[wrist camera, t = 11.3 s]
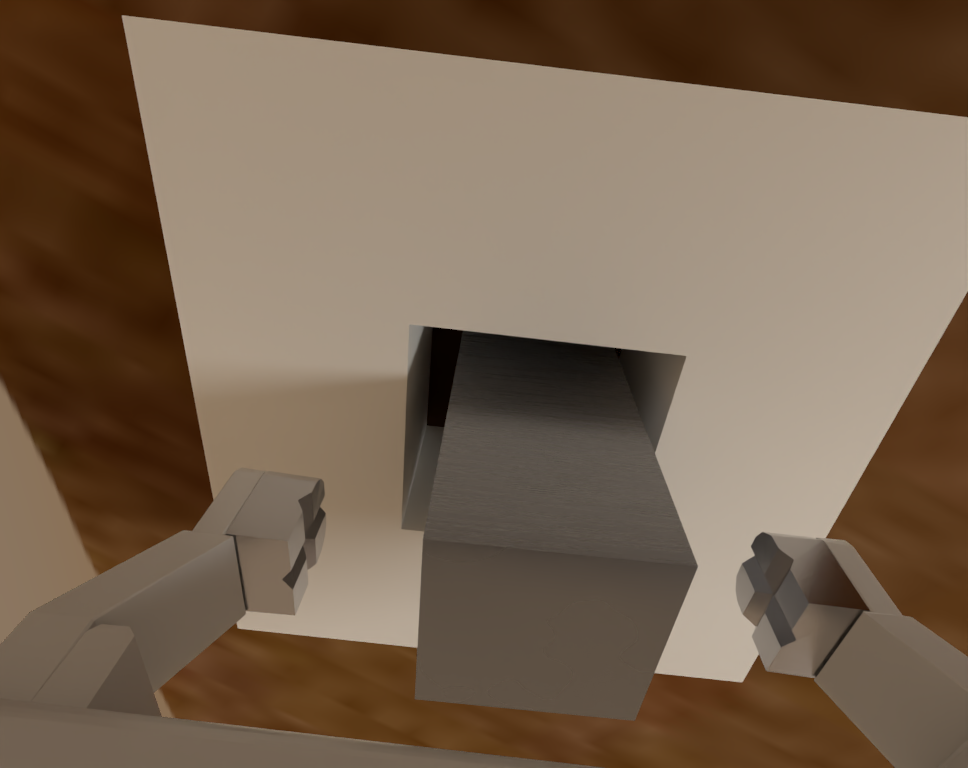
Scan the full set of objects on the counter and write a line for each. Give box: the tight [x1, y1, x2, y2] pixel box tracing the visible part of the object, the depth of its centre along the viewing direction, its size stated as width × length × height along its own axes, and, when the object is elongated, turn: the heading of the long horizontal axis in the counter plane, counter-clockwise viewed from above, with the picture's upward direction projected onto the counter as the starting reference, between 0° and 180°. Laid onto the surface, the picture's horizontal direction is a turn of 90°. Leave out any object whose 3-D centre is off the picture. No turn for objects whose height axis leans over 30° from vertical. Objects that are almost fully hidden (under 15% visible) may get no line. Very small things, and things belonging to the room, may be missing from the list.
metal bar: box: [415, 330, 698, 721], centre depth 13 cm, size 4×4×10 cm
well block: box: [122, 15, 968, 682], centre depth 15 cm, size 16×16×5 cm
